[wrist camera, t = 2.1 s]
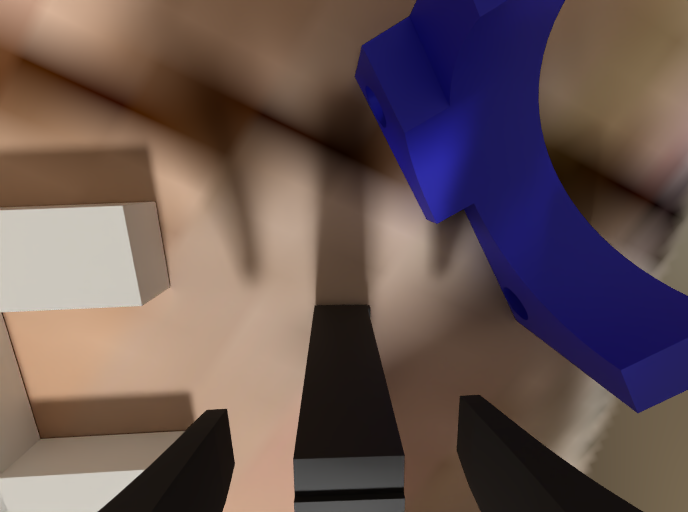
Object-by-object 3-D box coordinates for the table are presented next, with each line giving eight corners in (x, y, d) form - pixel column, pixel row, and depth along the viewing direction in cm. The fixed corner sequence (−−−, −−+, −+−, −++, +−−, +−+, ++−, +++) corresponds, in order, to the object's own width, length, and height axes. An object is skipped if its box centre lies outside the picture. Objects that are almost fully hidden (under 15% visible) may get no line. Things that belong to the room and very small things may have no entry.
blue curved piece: (354, 78, 12) (376, -20, 6) (463, 11, 11) (600, -163, 6) (483, 334, 14) (585, 438, 9) (575, 286, 14) (747, 361, 8)
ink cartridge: (366, 399, 15) (403, 643, 7) (317, 400, 15) (300, 647, 7) (368, 300, 14) (414, 466, 6) (315, 301, 14) (291, 470, 6)
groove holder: (204, 490, 16) (186, 534, 14) (16, 502, 15) (-29, 548, 14) (155, 201, 12) (122, 205, 10) (-85, 210, 12) (-164, 216, 10)
